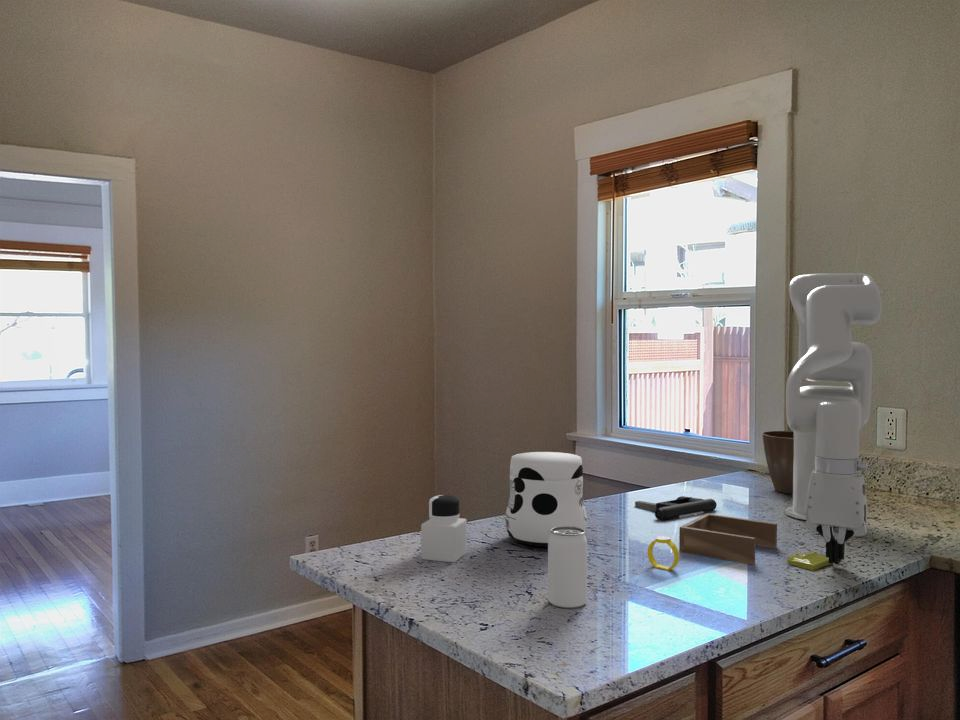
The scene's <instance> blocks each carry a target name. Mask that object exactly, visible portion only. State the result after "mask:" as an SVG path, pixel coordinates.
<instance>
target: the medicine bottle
mask: <svg viewBox="0 0 960 720" xmlns="http://www.w3.org/2000/svg"><path fill="white" fill-rule="evenodd" d="M467 520H468V519H466V518H461V517H460V499H459V498H458V497H456V496H455V495H449V494H439V495H434V496H433V497H431V498H430V499H429V501H428V520H426V521H425V522H423V523H421V525H420V526H421V527H420V530H421V531H420V532H421V534H420V535H421V536H420V539H421V541H420V547H421V549H420V550H421V551H420V552H421V553H420V554H421V555H420V556H421V557H420V558H421V560H424V561H434V562H444V563H452V564H453V563H456V562H457V561H458V560H459V559H461V558H462V557H464V556H465V555H466V554H467V552H468V549H467V548H468V547H467V546H468V545H467V544H468V540H467V539H468V537H467V532H468V531H467V530H468V529H467V528H468V521H467Z"/></svg>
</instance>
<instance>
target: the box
mask: <svg viewBox="0 0 960 720" xmlns="http://www.w3.org/2000/svg"><path fill="white" fill-rule="evenodd" d="M678 537H679V540H678V541H679V542H678V543H679V544H678V551H679V552H680V551H681V553H685V552H687V554H691V553H692V555H696V554H698V555H697V556H702V555H703V557H708V556H709V557H708V558H713V557H715V558H714V559H719V558H720V560H725V561H732V562H735V561H736V563H742V564H748V565H755V564H756V546H757V545H758V547H763V546H764V547H765V548H771V549H777V548H778V523H777V522H776V523H775V522H768V521H761V520H755V519H747V518H741V517H735V516H729V515H720V514H715V513H714V514H713V513H708V512H705V514H704V513H703V514H701V515H700V516H699V517H697V518H695V519H693V520H690V521H688V522H687V523H685V524H683V525H681V526H679V536H678Z"/></svg>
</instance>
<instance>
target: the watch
mask: <svg viewBox="0 0 960 720" xmlns="http://www.w3.org/2000/svg"><path fill="white" fill-rule="evenodd" d="M656 543H659V544H667V545H668V546H669V547H670V549H671V551H672V553H673V558H674V559H673V562H672V565H671V566H666V565H662V564H659V563H658V561H656V560H655V557H654V554H653V553H654V552H653V551H654V546H655V545H656ZM647 557H648V560H649V562H650V564H651V565H652V566H653V568H654V569H659V568H660V570H664V571H667V572H669V571H671V570H673V569H674V568H676V567H677V566H678V564H679V561H680V551H679V548H678V547H677V546H676V544H675V543H674V542H673V541H672V540H671V537H670V536H666V535H664V536H663V535H659V536H655V540H652V541H650V544H649V545H648V547H647Z"/></svg>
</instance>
